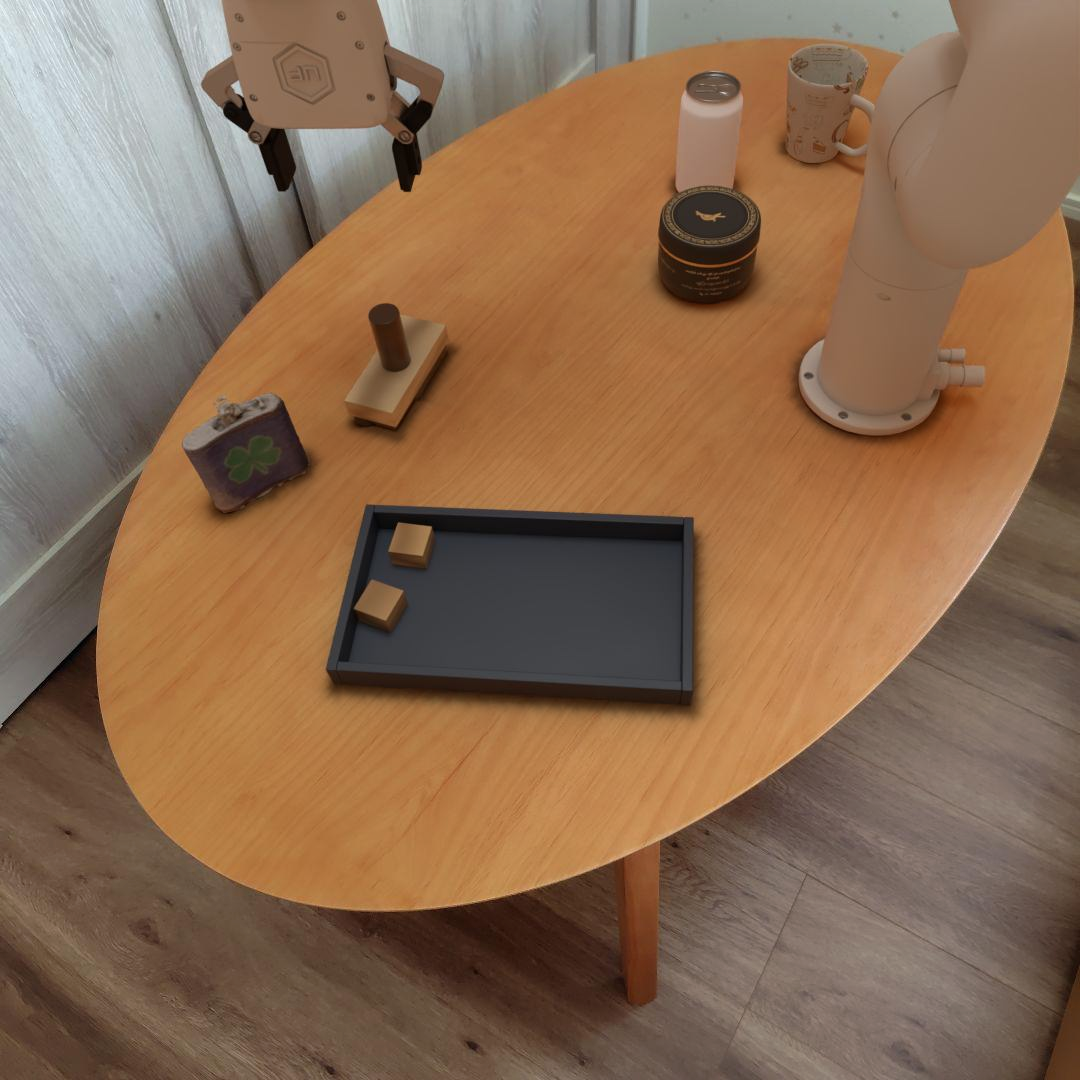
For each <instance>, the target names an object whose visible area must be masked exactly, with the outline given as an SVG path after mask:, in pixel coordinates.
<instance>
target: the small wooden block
mask: <svg viewBox="0 0 1080 1080" xmlns="http://www.w3.org/2000/svg"><path fill="white" fill-rule="evenodd" d="M407 604H408V602H407V599H406V596H405V593H404V591H403V590H400V589H398V588H395V587H392V586H389V585H386V584H384V583H381V582H378V581H375V580H373V579H372V580H371V581H370V583H369V584H368V586H367V588H366V589H365V591H364V592H363V594H362V596H361V597H360V599H359V601H358V602H357V604H356V605H355V607H354V611H355V613H356V615H357V617H358V620H359V621H361V622H364V623H366V624H369V625H372V626H374V627H377V628H380V629H382V630H385V631H388V632H391V631H392V629H393V628H394V626H395V624H396V623H397V621H398V619H399V618H400V616H401V614H402V612H403V611H404V609H405V607H406V606H407Z"/></svg>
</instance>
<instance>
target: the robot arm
mask: <svg viewBox="0 0 1080 1080" xmlns="http://www.w3.org/2000/svg"><path fill="white" fill-rule="evenodd" d="M948 3H949V5H950V9H951V13H952V16H953V19H954V21H955V24H956V27H957V31H948V32H943V33H939V34H937V35H934V36H932V37H930V38H927V39H925V40H924V41H922V42H920V43H919V44H917V45H915V46H914V47H913V48H911V49H910V50H909V51H908V52H906V54H905V55H903V57H902V58H901V59H900V60H899V61H898V62H897V63H896V64H895V65H894V67H893V68H892V69H891V71H890V73H889V74H888V76H887V77H886V79H885V81H884V82H883V84H882V87H881V89H880V90H879V94H878V97H877V99H876V102H875V105H874V106H875V109H874V112H873V117H872V122H871V124H870V128H869V135H868V140H869V141H868V140H867V141H868V150H867V155H866V156H865V157H866V158H865V165H864V173H863V179H862V185H861V192H860V197H859V200H858V206H857V209H856V215H855V219H854V224H853V227H852V231H851V234H850V238H849V241H848V245H847V249H846V253H845V257H844V260H843V265H842V269H841V272H840V277H839V281H838V285H837V288H836V293H835V297H834V302H833V305H832V308H831V313H830V315H829V316H830V317H829V321H828V324H827V329H826V332H825V336H824V338H823V339H820V340H819V341H817V342H816V343H815V344H813V345H812V346H811V347H810V348H809V349H808V350H807V352H806V353H805V355H804V356H803V358H802V361H801V364H800V367H799V372H798V388H799V391H800V395H801V396H802V398H803V400H804V402H805V404H806V405H807V406H808V407H809V408H810V409H811V411H812V412H813V413H814V414H816V415H817V416H818V417H819V418H821V419H822V420H823V421H825V422H826V423H828V424H830V425H832V426H834V427H836V428H839V429H840V430H843V431H846V432H849V433H854V434H858V435H865V436H875V437H876V436H890V435H896V434H901V433H904V432H905V431H908V430H911V429H914V428H915V427H916V426H918V425H920V424H921V423H923V422H924V421H925V420H926V419H927V418H928V417H929V416H931V413H932V412H933V410H934V409H935V407H936V405H937V403H938V399H939V397H940V392H941V390H945V389H946V388H947V386H959V387H960V388H982V387H983V386H984V383H985V381H986V367H985V366H984V365H971V364H970V365H969V364H966V365H965V364H964V363H965V362H966V358H967V357H966V356H967V351H966V349H965V348H952V347H951V348H940V345H941V343H942V341H943V338H944V335H945V332H946V330H947V327H948V326H949V322H950V321H951V317H952V314H953V312H954V310H955V307H956V305H957V302H958V299H959V297H960V294H961V292H962V289H963V287H964V285H965V281H966V279H967V277H968V274H969V271H970V270H974V269H979V268H983V267H987V266H991V265H993V264H995V263H998V262H1000V261H1002V260H1004V259H1006V258H1009V257H1010V256H1012V255H1013V254H1015V253H1016V252H1017V251H1018V252H1019V250H1020V249H1022V248H1023V247H1025V246H1026V245H1027V244H1028V243H1030V242H1031V241H1032V240H1033V239H1034V238H1035V237H1036V236H1037V235H1039V233H1040V232H1041V231H1042V230H1043V228H1044V227H1045V226H1046V225H1047V224H1048V223H1049V222H1050V221H1051V219H1052V218H1053V217H1054V215H1055V213H1057V211H1058V210H1059V209H1060V207H1061V205H1062V204H1063V202H1064V201H1065V199H1066V198H1067V197H1068V195H1069V194H1070V192H1071V189H1072V188H1073V187H1074V185H1075V183H1076V182H1077V180H1078V179H1079V177H1080V0H948ZM221 6H222V11H223V17H224V22H225V27H226V32H227V37H228V42H229V47H230V52H231V55H230V56H229V57H227V58H226V59H224V60H223V61H221V62H220V63H218V64H216V65H215V66H213V67H212V68H210V69H209V70H208V71H206V73H205V74H204V77H203V78H202V80H201V82H200V87H201V89H202V90H203V91H204V92H205V93H206V95H207V96H208V97H209V98H210V99H211V100H212V102H213V103H214V104H215V105H216V106H217V107H218V108H221V110H222V114H223V116H224V117H225V119H227V120H228V121H230V122H231V123H232V124H234V125H235V126H236V127H238V128H239V129H241V130H242V131H243V132H245V133H246V134H247V138H248V140H249V141H250V142H251V143H252V144H254V145H257V146H258V149H259V151H260V154H261V158H262V160H263V163H264V167H265V169H266V172H267V174H268V175H269V176H272V178H273V180H274V184H275V187H276V189H277V191H278V192H280V193H283V192H284V193H286V192H287V191H288V190H289V189H290V187H291V184H292V181H293V179H294V177H295V174H296V171H297V164H296V161H295V158H294V155H293V151H292V148H291V145H290V142H289V139H288V135H287V132H286V130H352V129H353V130H354V129H371V128H376V127H378V126H381V127H383V128H384V129H385V131H387V132H388V133H389V134H390V135H391V136H393V140H392V143H391V151H392V157H393V161H394V165H395V170H396V175H397V180H398V184H399V188H400V191H402V192H403V193H411V192H412V189H413V185H414V182H415V177H416V176H421V173H422V169H423V160H422V155H421V149H420V145H419V139H418V132H419V131H421V129H422V128H423V127H424V126H425V125H426V123H427V122H428V121H429V120H430V119H431V117H432V114H433V112H434V109H435V107H436V104H437V101H438V99H439V96H440V93H441V91H442V88H443V83H444V80H445V73H444V71H443V70H442V69H441V68H438V67H437V66H435V65H432V64H430V63H428V62H426V61H423V60H421V59H419V58H418V57H415V56H413V55H411V54H408V53H406V52H404V51H402V50H400V49H398V48H395V47H393V46H392V45H391V43H390V39H389V35H388V33H387V28H386V25H385V21H384V18H383V15H382V11H381V9H380V4H379V2H378V0H221ZM398 79H399V80H402V81H404V82H406V83H408V84H410V85H412V86H415V87H416V88H417V89H418V90H419V94H418V95H417V97H416V98H415V99H413V101H412V102H411V103H409V101H407V99H405V98H404V96H402V95H401V94H400V93H399V92H398V91H397V87H398ZM237 82H239V86H240V89H241V92H242V95H241V94H239V93H236V91H235V89H234V88H233V86H232V85H233V84H235V83H237ZM949 364H962V365H949Z"/></svg>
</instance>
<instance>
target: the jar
mask: <svg viewBox="0 0 1080 1080" xmlns="http://www.w3.org/2000/svg"><path fill="white" fill-rule="evenodd" d="M761 215H762V214H761V212H760V209H759V207H758V205H757V204H756V202H754V200H752V198H751V197H749V196H748V195H746V194H744V193H743V192H741V191H739V190H736V189H733V188H732V189H731V188H727V187H722V186H698V187H693V188H690V189H686V190H684V191H681V192H677V193H676V194H674V195H672V196H671V198H669V199H668V200H667V201H666V203H665V204H664V205H663V207H662V209H661V211H660V215H659V222H658V228H657V229H658V230H657V237H658V251H657V266H658V272H659V275H660V279H661V281H662V283H663V285H664V286H665V288H666V289H667V290H668V291H669V292H670V293H671V294H673V295H674V296H676V297H677V298H679V299H681V300H683V301H686V302H689V303H694V304H698V305H712V304H718V303H722V302H725V301H728V300H731V299H733V297H736V295H738V294H740V292H742V291H743V290H744V289H745V287H746V286H747V284H748V282H749V280H750V279H751V276H752V274H753V273H754V269H755V265H756V264H755V263H756V257H757V251H758V245H759V243H760V238H761V227H762V216H761Z"/></svg>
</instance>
